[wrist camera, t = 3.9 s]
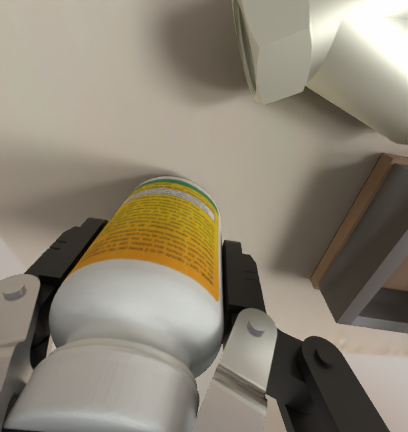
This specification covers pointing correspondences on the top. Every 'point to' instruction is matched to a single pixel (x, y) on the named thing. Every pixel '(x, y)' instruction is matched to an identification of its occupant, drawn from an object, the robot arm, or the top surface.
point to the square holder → (371, 254)
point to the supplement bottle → (134, 320)
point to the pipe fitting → (330, 55)
